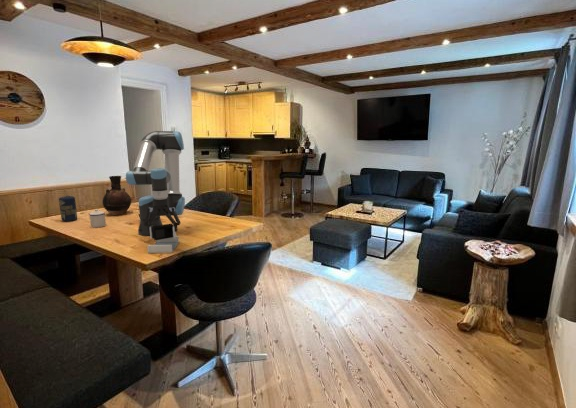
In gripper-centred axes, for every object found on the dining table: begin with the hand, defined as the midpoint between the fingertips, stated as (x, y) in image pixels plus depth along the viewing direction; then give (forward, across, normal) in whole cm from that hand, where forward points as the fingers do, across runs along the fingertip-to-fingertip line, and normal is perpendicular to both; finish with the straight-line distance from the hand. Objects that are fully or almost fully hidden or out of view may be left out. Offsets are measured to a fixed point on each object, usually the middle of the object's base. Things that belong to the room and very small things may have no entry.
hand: (163, 237), depth 171 cm
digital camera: (+1, 0, 0) cm, 1 cm away
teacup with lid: (+6, -57, +48) cm, 75 cm away
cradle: (+6, 0, 0) cm, 6 cm away
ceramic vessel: (+6, -57, +82) cm, 100 cm away
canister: (+6, -83, +64) cm, 105 cm away
